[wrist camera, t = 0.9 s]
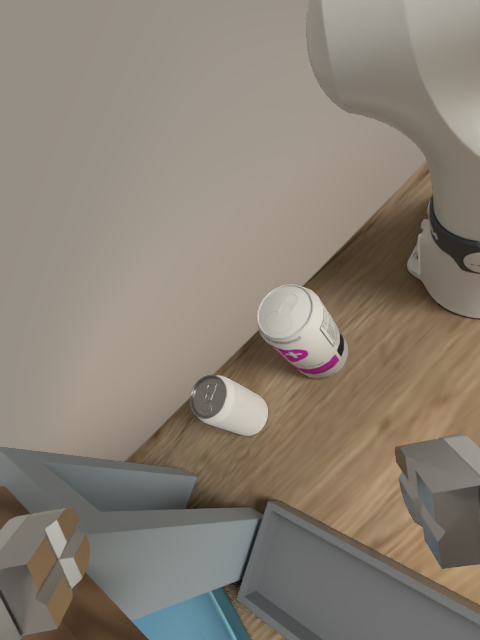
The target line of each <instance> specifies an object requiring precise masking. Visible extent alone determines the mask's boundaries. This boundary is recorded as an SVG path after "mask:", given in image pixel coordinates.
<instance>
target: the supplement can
mask: <svg viewBox="0 0 480 640" xmlns="http://www.w3.org/2000/svg"><path fill="white" fill-rule="evenodd" d="M257 320H258V328H259V331H260V335H261V336H262V337H263V338H264V340H265V341H266V342H267V343H268V344H269V345H270V346H271V347H272V348H274V349H275V350H276V351H277V352H278V353H279V354H280V355H282V356H283V357H284V358H285V359H286V360H287V361H288V362H290V363H291V364H292V365H293V366H294V367H295V368H296V369H298V370H299V371H300V372H301V373H302V374H304V375H306V376H308V377H309V378H314V379H324V378H329V377H331V376H333V375H334V374H336V373H338V372H339V371H340V369H341V368H342V367H343V366H344V365H345V362H346V360H347V357H348V345H347V343H346V340H345V338H344V336H343V335H342V333H341V331H340V330H339V328H338V327H337V325H336V324H335V322H334V320H333V319H332V317H331V316H330V314H329V313H328V311H327V309H326V308H325V306H324V305H323V303H322V302H321V300H320V298H319V297H318V296H317V295H316V294H315V293H314V292H313V291H312V290H310V289H308V288H305V287H302V286H298V285H295V284H292V285H291V284H289V285H283V286H280V287H277V288H275V289H274V290H272V291H271V292H269V293H268V294H267V295H266V296H265V297H264V299H263V300H262V301H261V304H260V306H259V308H258V313H257Z"/></svg>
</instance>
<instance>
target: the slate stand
mask: <svg viewBox="0 0 480 640" xmlns="http://www.w3.org/2000/svg"><path fill="white" fill-rule="evenodd" d="M196 480H197V476H195V475H193V474H192V473H190V472H188V471H186V470H185V469H179V468H171V467H163V466H155V465H147V464H138V463H130V462H122V461H113V460H105V459H97V458H89V457H80V456H72V455H63V454H55V453H48V452H40V451H31V450H23V449H15V448H7V447H0V486H5V487H6V488H7V489H8V490H9V491H10V492H11V493H12V494H13V495H14V496H15V497H16V498H17V499H18V501H19V502H20V503H21V504H22V505H23V506H24V507H25V508H26V509H27V510H28V511H29V512H30V513H31V514H34V513H39V512H45V511H51V510H58V509H64V508H72V509H75V511H76V513H77V515H78V517H79V519H80V521H79V524H78V527H77V528H78V529H79V530H81V531H82V532H83V533H85V534H86V536H87V538H88V541H89V546H90V557H89V563H88V567H87V569H86V571H85V572H86V573H87V574H88V575H89V576H90V577H91V578H92V579H93V581H94V582H95V583H96V584H97V585H98V586H99V587H100V588H101V589H102V590H103V591H104V592H105V593H106V594H107V595H108V597H109V598H110V599H111V600H112V601H113V602H114V603H115V604H116V605H117V606H118V607H119V608H120V609H121V610H122V611H123V613H124V614H125V615H126V616H127V617H128V618H129V619H130V620H131V621H132V620H135V619H137V618H140V617H143V616H145V615H148V614H151V613H153V612H156V611H159V610H161V609H164V608H167V607H169V606H172V605H175V604H177V603H180V602H183V601H185V600H188V599H191V598H193V597H196V596H199V595H201V594H204V593H206V592H209V591H212V590H214V589H217V588H220V587H222V586H225V585H228V584H230V583H233V582H236V581H238V580H241V579H243V577H244V574H245V571H246V568H247V565H248V562H249V559H250V556H251V552H252V549H253V546H254V543H255V540H256V537H257V534H258V531H259V528H260V524H261V521H262V518H263V515H264V514H262V513H260V512H258V511H257V510H255V509H253V508H251V507H242V508H209V509H186V506H187V503H188V501H189V498H190V495H191V493H192V490H193V488H194V485H195V482H196Z"/></svg>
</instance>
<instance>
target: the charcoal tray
mask: <svg viewBox="0 0 480 640" xmlns="http://www.w3.org/2000/svg"><path fill="white" fill-rule="evenodd" d="M236 600H237V601H239V602H240V603H241V604H243V605H244V606H245V607H246V608H248V609H249V610H250V611H252V612H253V613H254V614H255V615H257V616H258V617H259V618H260V619H262V620H263V621H264V622H266V623H267V624H268V625H269V626H271V627H272V628H273V629H274V630H276V631H277V632H278V633H280V634H281V635H282V636H283V637H285V638H286V639H287V640H480V605H478V604H476V603H474V602H472V601H470V600H468V599H467V598H465V597H463V596H461V595H459V594H457V593H455V592H453V591H451V590H449V589H448V588H446V587H444V586H442V585H440V584H438V583H436V582H434V581H432V580H430V579H428V578H427V577H425V576H423V575H421V574H419V573H417V572H415V571H413V570H411V569H409V568H408V567H406V566H404V565H402V564H400V563H398V562H396V561H394V560H392V559H390V558H388V557H387V556H385V555H383V554H381V553H379V552H377V551H375V550H373V549H371V548H369V547H367V546H366V545H364V544H362V543H360V542H358V541H356V540H354V539H352V538H350V537H348V536H347V535H345V534H343V533H341V532H339V531H337V530H335V529H333V528H331V527H329V526H327V525H326V524H324V523H322V522H320V521H318V520H316V519H314V518H312V517H310V516H308V515H307V514H305V513H303V512H301V511H299V510H297V509H295V508H293V507H291V506H289V505H287V504H286V503H284V502H282V501H268V503H267V506H266V509H265V512H264V515H263V518H262V521H261V524H260V528H259V531H258V534H257V537H256V540H255V543H254V546H253V549H252V552H251V556H250V559H249V562H248V565H247V568H246V571H245V574H244V577H243V580H242V583H241V587H240V590H239V593H238V596H237V599H236Z"/></svg>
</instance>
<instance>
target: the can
mask: <svg viewBox="0 0 480 640" xmlns="http://www.w3.org/2000/svg"><path fill="white" fill-rule="evenodd" d="M190 407H191V410H192V412H193V413H194V414H195V415H196V416H197V417H198V418H199V419H200V420H201V421H202V422H204V423H206V424H209V425H212V426H215V427H218V428H221V429H224V430H227V431H230V432H234V433H237V434H240V435H244V436H251V435H254V434H256V433H258V432H259V431H260V430H261V429H262V428H263V427H264V425H265V423H266V421H267V417H268V409H267V405H266V403H265V401H264V400H263V399H262V398H261V397H260V396H259V395H257V394H255V393H254V392H252V391H250V390H248V389H247V388H245V387H243V386H241V385H239V384H238V383H236V382H234V381H232V380H230V379H228V378H226V377H224V376H220V375H216V376H215V375H207V376H204V377H203V378H201V379H200V380H199V381H198V382H197V383H196V384H195V385H194V387H193V389H192V391H191V394H190Z"/></svg>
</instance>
